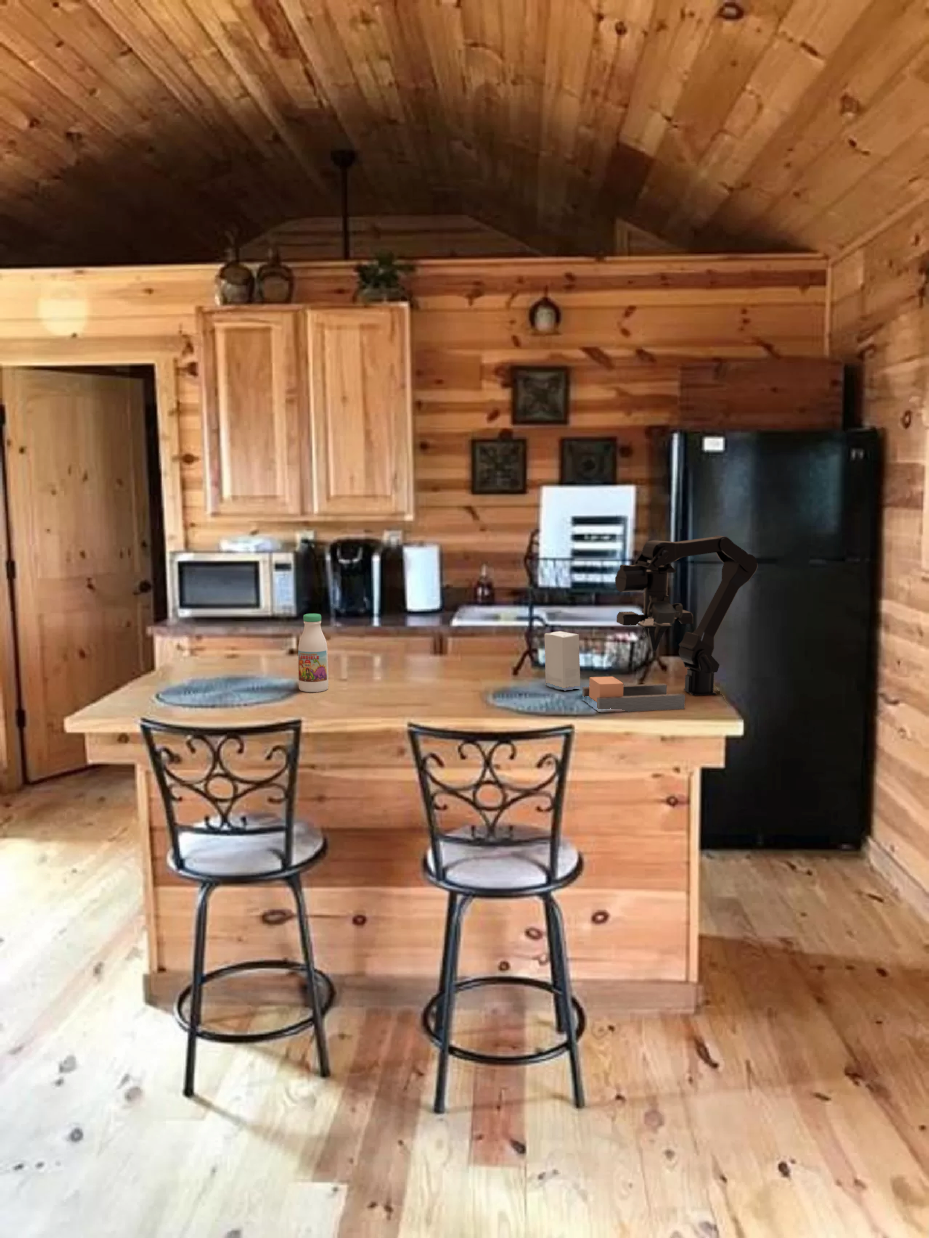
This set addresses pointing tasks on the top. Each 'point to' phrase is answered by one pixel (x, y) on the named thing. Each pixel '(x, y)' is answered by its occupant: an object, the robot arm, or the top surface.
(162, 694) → the top surface
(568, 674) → the skincare box
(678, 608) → the robot arm
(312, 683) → the milk bottle
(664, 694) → the chute
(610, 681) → the block
